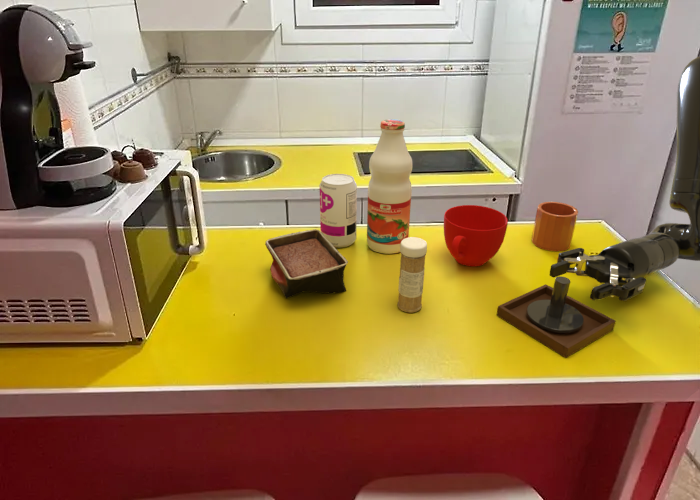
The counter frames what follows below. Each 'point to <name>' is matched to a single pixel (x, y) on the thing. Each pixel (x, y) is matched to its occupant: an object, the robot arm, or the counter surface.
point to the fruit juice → (389, 190)
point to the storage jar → (554, 226)
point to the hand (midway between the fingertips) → (571, 283)
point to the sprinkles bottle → (411, 274)
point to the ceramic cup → (474, 233)
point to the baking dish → (306, 263)
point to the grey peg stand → (556, 310)
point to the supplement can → (338, 209)
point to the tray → (558, 342)
